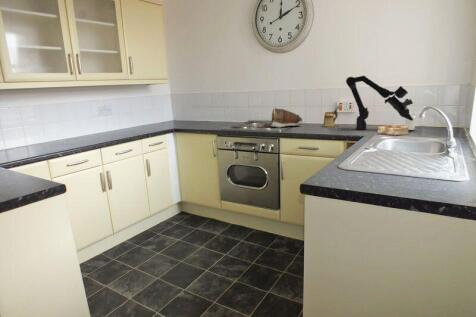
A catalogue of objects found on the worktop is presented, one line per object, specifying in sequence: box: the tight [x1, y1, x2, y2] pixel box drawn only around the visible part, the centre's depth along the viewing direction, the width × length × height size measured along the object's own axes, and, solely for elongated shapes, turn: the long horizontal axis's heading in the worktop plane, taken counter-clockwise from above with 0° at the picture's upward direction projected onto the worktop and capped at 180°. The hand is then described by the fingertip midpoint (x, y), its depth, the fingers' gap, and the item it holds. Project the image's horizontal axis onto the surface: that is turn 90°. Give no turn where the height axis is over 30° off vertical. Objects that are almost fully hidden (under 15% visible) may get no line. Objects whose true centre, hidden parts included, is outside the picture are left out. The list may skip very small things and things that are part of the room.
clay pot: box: [270, 107, 304, 129], centre depth 260 cm, size 15×15×25 cm
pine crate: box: [377, 124, 409, 137], centre depth 211 cm, size 13×13×4 cm
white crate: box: [403, 115, 416, 131], centre depth 221 cm, size 6×6×9 cm
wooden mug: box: [322, 103, 342, 128], centre depth 251 cm, size 9×14×18 cm, turn 81°
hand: (412, 119), depth 220 cm, fingers closed on white crate, 6 cm apart
